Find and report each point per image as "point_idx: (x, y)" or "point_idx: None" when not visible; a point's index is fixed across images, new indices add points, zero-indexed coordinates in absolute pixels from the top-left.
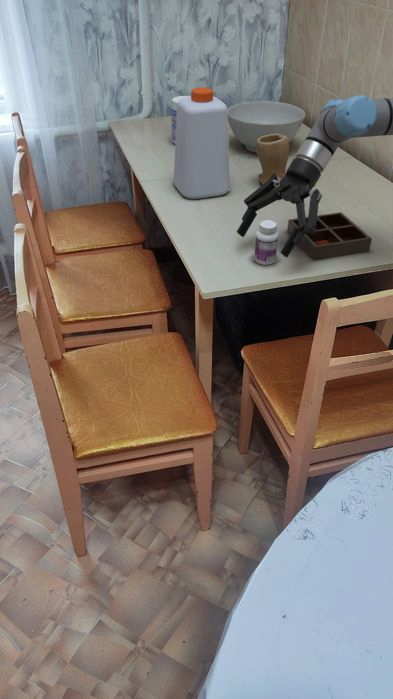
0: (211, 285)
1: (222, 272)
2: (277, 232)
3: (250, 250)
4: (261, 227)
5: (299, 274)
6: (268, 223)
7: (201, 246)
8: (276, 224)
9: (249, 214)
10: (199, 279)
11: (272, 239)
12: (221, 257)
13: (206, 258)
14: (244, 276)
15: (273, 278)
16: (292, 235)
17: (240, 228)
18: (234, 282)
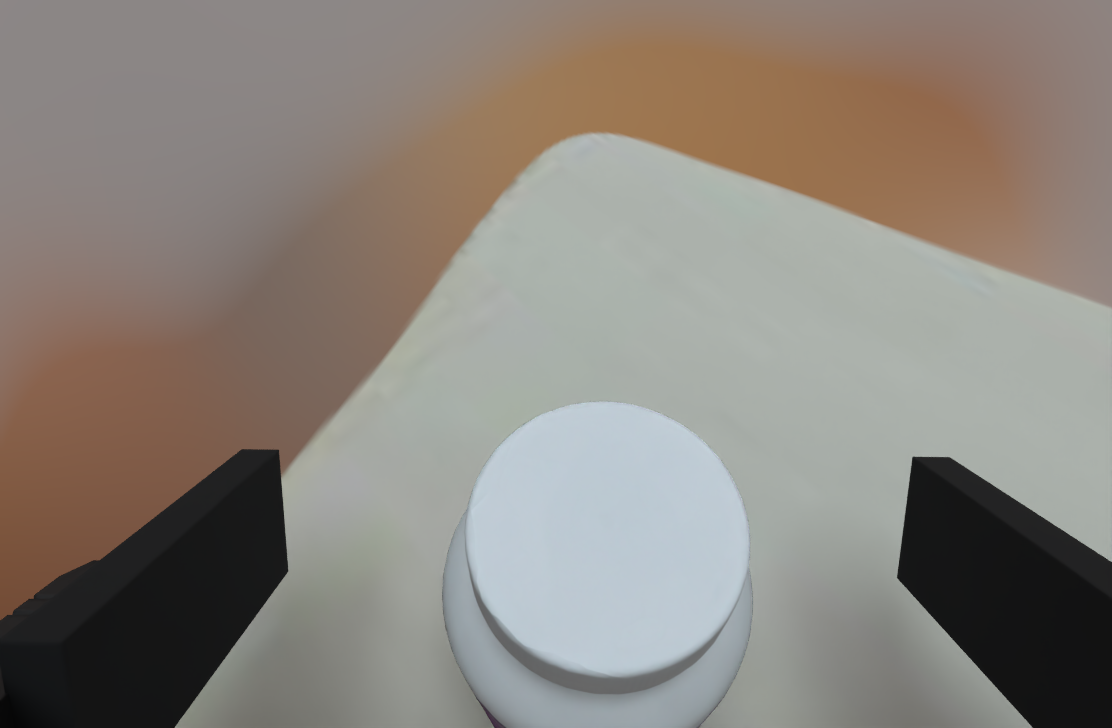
0: (605, 170)
1: (673, 293)
2: (503, 698)
3: (812, 705)
4: (628, 412)
5: None
6: (615, 533)
7: (1098, 435)
8: (499, 617)
9: (1098, 588)
10: (701, 168)
11: (460, 522)
12: (852, 423)
13: (900, 341)
14: (530, 351)
15: (343, 472)
16: (118, 561)
17: (953, 478)
18: (529, 264)
